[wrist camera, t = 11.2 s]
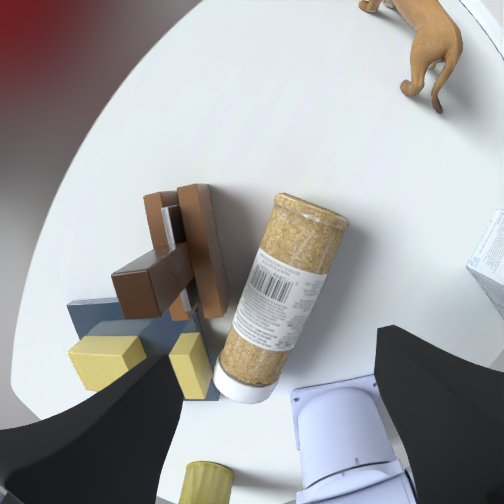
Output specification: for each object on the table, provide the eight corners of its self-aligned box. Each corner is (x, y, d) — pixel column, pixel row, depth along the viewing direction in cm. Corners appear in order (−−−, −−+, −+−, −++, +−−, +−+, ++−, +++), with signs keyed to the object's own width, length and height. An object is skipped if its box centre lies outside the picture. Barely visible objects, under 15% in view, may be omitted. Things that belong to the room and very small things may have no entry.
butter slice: (212, 374, 20) (205, 399, 17) (194, 374, 20) (185, 399, 17) (200, 331, 19) (189, 354, 16) (181, 333, 19) (168, 355, 16)
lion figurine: (319, -22, 13) (335, -92, 4) (369, -26, 12) (398, -84, 3) (413, 121, 15) (495, 92, 7) (458, 108, 14) (533, 86, 6)
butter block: (154, 375, 20) (141, 397, 17) (101, 371, 21) (86, 390, 18) (138, 335, 19) (122, 355, 16) (85, 335, 20) (66, 352, 17)
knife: (215, 285, 19) (176, 360, 10) (191, 288, 19) (139, 360, 10) (198, 200, 18) (135, 214, 9) (173, 205, 18) (97, 224, 9)
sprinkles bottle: (284, 192, 18) (224, 356, 21) (268, 187, 13) (199, 386, 17) (349, 218, 17) (276, 380, 20) (355, 220, 12) (261, 416, 16)
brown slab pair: (230, 298, 19) (223, 317, 16) (185, 302, 19) (172, 321, 17) (208, 183, 17) (196, 183, 14) (161, 193, 18) (142, 196, 15)
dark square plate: (220, 393, 21) (218, 400, 20) (110, 388, 23) (106, 394, 22) (190, 289, 19) (187, 294, 18) (72, 300, 20) (66, 304, 19)
